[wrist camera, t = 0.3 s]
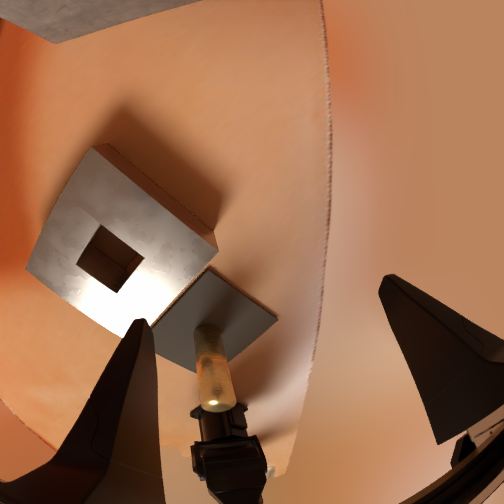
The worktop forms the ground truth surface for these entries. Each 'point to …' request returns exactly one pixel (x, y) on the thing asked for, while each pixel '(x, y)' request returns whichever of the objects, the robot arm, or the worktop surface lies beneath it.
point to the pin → (213, 369)
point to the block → (129, 231)
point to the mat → (209, 320)
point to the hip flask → (78, 15)
